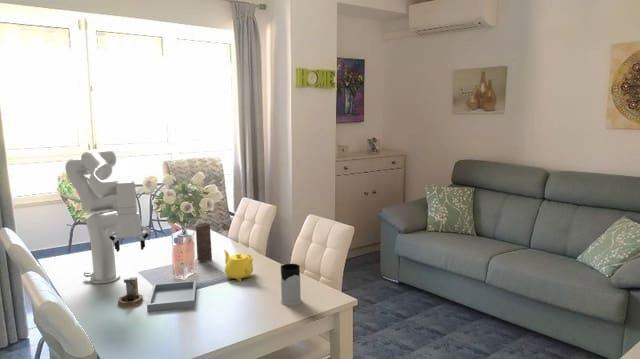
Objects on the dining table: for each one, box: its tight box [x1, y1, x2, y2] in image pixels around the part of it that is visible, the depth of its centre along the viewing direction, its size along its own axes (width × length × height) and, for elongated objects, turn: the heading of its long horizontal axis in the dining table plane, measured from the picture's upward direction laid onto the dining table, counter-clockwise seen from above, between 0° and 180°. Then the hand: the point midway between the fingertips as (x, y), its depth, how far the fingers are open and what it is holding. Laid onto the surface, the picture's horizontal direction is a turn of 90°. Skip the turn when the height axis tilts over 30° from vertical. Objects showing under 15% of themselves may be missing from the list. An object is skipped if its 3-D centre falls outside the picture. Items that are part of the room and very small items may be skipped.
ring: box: [117, 276, 144, 309], centre depth 200 cm, size 9×15×7 cm, turn 12°
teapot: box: [223, 249, 255, 282], centre depth 224 cm, size 20×15×12 cm
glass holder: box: [280, 263, 303, 307], centre depth 198 cm, size 9×14×15 cm, turn 28°
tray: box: [146, 279, 197, 313], centre depth 201 cm, size 18×22×3 cm
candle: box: [195, 222, 213, 262], centre depth 246 cm, size 8×7×20 cm
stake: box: [123, 277, 136, 302], centre depth 196 cm, size 5×5×10 cm
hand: (130, 249), depth 202 cm, fingers open, 9 cm apart
